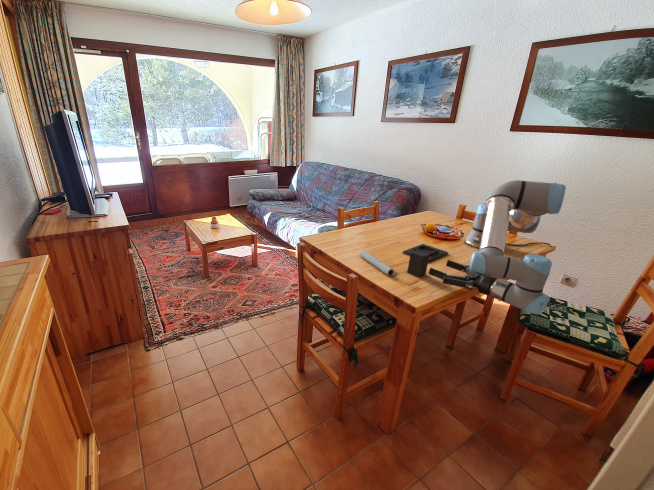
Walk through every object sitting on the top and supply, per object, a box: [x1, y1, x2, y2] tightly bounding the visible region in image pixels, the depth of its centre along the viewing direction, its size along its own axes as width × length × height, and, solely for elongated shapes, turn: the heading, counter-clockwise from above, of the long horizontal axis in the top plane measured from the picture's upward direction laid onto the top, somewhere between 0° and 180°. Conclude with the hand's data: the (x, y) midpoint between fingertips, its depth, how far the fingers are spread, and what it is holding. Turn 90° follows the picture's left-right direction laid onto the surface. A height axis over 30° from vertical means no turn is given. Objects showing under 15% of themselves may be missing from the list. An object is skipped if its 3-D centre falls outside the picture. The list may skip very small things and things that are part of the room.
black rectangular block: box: [407, 250, 430, 278], centre depth 138 cm, size 5×6×10 cm
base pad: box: [402, 243, 449, 263], centre depth 160 cm, size 18×14×3 cm
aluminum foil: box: [359, 250, 398, 277], centre depth 147 cm, size 23×7×3 cm, turn 19°
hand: (438, 266), depth 130 cm, fingers open, 13 cm apart
